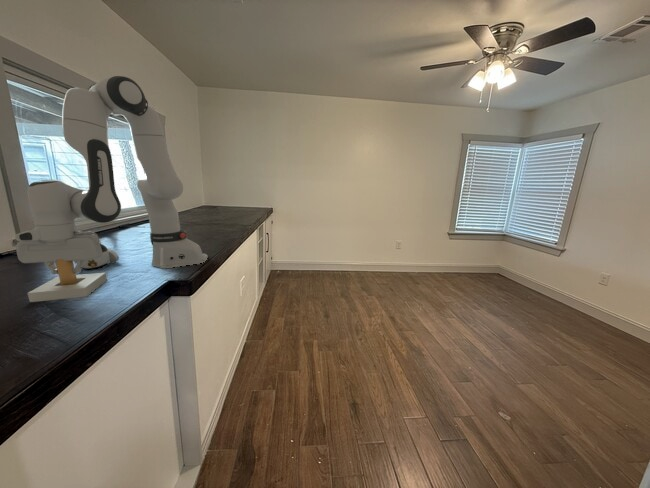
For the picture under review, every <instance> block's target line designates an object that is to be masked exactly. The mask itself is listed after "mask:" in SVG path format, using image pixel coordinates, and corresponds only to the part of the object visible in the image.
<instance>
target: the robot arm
mask: <svg viewBox="0 0 650 488" xmlns="http://www.w3.org/2000/svg"><path fill="white" fill-rule="evenodd" d="M61 114H62V116H61V123H62V134H63V137H64V140H65V142H66V143H67V144H68V145H69V146H70V147H71V148H72V149H73V150H75V151H77V152H78V153H79V154H80V155H81V156H82V157H83V159H84V160H85V163H86V167H87V177H88V190H86V189H83V188H80V187H76V186H72V185H70V184H69V183H66V182H64V181H63V180H61V179H46V180H36V181H33V182H32V183H30V184H28V185H27V199H28V200H27V201H28V206H29V209H30V212H31V214H32V215H33V217H34V218H33V219H34V222H33V225H34V228H31V229H28V230H26V231H23V232H19V233H16V234H15V236H14V238H15V241H17V243H16V246H15V248H16V249H15V250H16V255H17V259H18V260H19V262H20V263H23V264H35V263H44V266H45V267H47V268H48V269H49V270H50V271H51V275H53V276H54V275H58V271H57V267H56V263H55V261H56V260H57V259H64V260H65V261H72V260H73V264H75V266H74V268H72V271H73V273H76V274H78V273H81V271H82V269H81V268H80V266H81V265H82V263H83V260H89V259H97V258H99V257H101V255H102V254H103V253H102V249H101V246H100V244H99V239H100V237H99V235H98V234H97V233H96V232H93V231H90V230H89V231H77V228H76V223H75V219H79V218H80V219H85V220H90V221H94V222H96V223H101V224H104V223H105V224H106V223H109V222H112V221H114V220H115V219H117V218H118V216H119V215H120V214H121V212H122V203H121V201H120V199H119V197H118V195H117V191H116V187H115V177H114V168H113V167H114V166H113V159H112V154H111V149H110V146H109V134H108V133H109V128H108V127H109V124H108V121H109V117H117V116H123V118H124V119H125V120H126V121H127V123H128V125H129V129H130V130H129V131H130V134H131V138H132V143H133V146H134V152H135V156H136V158H137V160H138V161H139V163H140V165H141V166H142V169H143V172H144V174H143V175H141V176H140V177H139V178H138V179H137V183H136V184H137V188H138V191H139V192H140V195H141V198H142V201H143V204H144V206H145V207H144V208H145V209H146V212H147V216H148V222H149V227H150V233H149V237H150V243H151V246H152V261H151V266H153V267H155V268H156V267H157V268H160V269H162V270H163V269H164V270H165V269H166V268H167V269H173V267H175V268H180V266H182V267H187V266H186V265H190V266H194V265H193V264H197V265H201V264H200V263H202V264H204V263H206V262H207V261H208V259H209V258H208V257H209V256H208V254H207V253H203V251H202V249H201V246H200V245H199V244H198V243H196V242H194V241H192V240H190V239H188V237H187V231H186V230H182V229H181V224H180V217H179V212H178V210H177V209H176V207H175V205H174V204H175V203H174V201H173V200H175V199H178V198H179V197H180V196H182V194H183V192H184V185H183V184H184V183H183V182H182V180H181V179H180V178H179V176H178V175H177V173H176V172H177V171H175V168H174V165H173V163H172V161H171V159H170V155H169V151H168V145H167V141H166V136H165V131H164V128H163V124H162V122H161V119H160V117H159V114H158V112H157V110H156V109H154V108H153V107H151V106H149V102H148V100H147V99H146V96H145V93H144V92H143V89H142V88H141V86H140V85H139V84H138V83H137V82H136V81H135V80H133V79H131V78H129V77H127V76H121V75H116V76H115V75H114V76H111V77H107V78H103V79H101V80H99V81H98V82H96V83H93V84H92V85H90V87H88V88H87V89H86V88H83V87H73V88H72V87H71V88H69V89H68V90H67V91H66V93H65V96H64V100H63V104H62V113H61ZM207 258H208V259H207ZM206 260H207V261H206ZM205 261H206V262H205ZM203 262H204V263H203Z"/></svg>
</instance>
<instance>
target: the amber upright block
mask: <svg viewBox="0 0 650 488" xmlns="http://www.w3.org/2000/svg"><path fill="white" fill-rule="evenodd" d="M54 264H55V266H56V267H57V271H58V274H57V275H58V276H59V279H60V283H61V286H64V285H73V284H76V283H77V282H78V281H77V277H76V275H77V273H73V271H72V268H74V267H75V263H74V260H72V261H65V260H64V259H57V260H56V261H55V263H54Z"/></svg>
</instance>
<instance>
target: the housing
mask: <svg viewBox="0 0 650 488" xmlns="http://www.w3.org/2000/svg"><path fill="white" fill-rule="evenodd" d="M76 277H77V281H78V282H77V283H76V284H73V285H64V286H61V283H60V279H59V275H58V276H56V277H54V278H52V279H50V280H49V281H47V282H45V283H43V284H41V285H40V286H37V287H36V288H34V289H33V290H30V291H28V292H27V297H28V300H29V303H36V302H44V301H45V302H46V301H55V300H66V299H68V300H69V299H75V298H77V299H78V298H87V297H88V296H90V294H92V293H93V292H94V291H95V289H96V290H97V289H98V288H99V287H101V286H102V285H103V284H104V283H106V282H107V281H108V277H107V273H106V272H98V273H97V272H96V273H86V274H83V273H82V274H76ZM100 285H101V286H100ZM91 292H92V293H91ZM86 296H87V297H86Z"/></svg>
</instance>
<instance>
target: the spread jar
mask: <svg viewBox="0 0 650 488" xmlns="http://www.w3.org/2000/svg"><path fill="white" fill-rule="evenodd" d="M99 244H100V246H101V249H102V253H103V254H102V255H101V257H99V258H97V259H89V260H83V263H82V265H81V266H80V268H81V270H84V271H96V270H100V269H103V268H105V267H107V265H109V263H112V264H114V263H116V262H119V260H120V257H119V254H118V253H117V252H116V251H114V250H113V249H110V248H107V246H105V245H104V244H103V243H102V242H101V238H99Z"/></svg>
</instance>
